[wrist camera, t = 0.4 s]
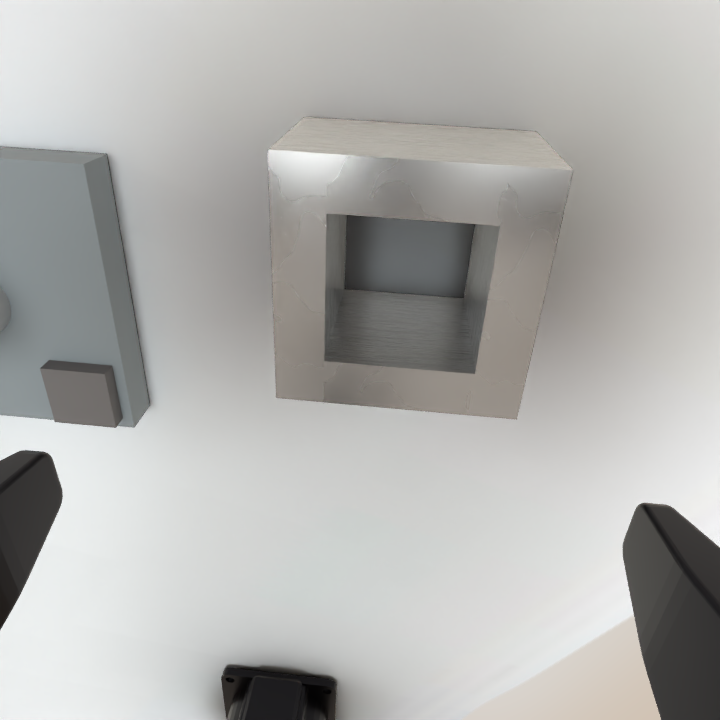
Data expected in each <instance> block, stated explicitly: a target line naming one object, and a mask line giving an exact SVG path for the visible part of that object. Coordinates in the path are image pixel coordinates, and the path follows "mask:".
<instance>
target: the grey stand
mask: <svg viewBox="0 0 720 720" xmlns="http://www.w3.org/2000/svg"><path fill="white" fill-rule="evenodd" d="M149 406H150V403H149V397H148V392H147V386H146V380H145V374H144V368H143V363H142V357H141V351H140V345H139V339H138V333H137V328H136V322H135V316H134V310H133V304H132V298H131V293H130V287H129V281H128V275H127V269H126V263H125V258H124V252H123V246H122V240H121V234H120V229H119V223H118V217H117V211H116V205H115V199H114V194H113V188H112V182H111V176H110V170H109V164H108V159H107V154H101V153H86V152H71V151H56V150H42V149H27V148H12V147H0V415H7V416H18V417H29V418H39V419H50V420H54V421H55V422H61V423H72V424H82V425H93V426H103V427H114V428H116V427H117V426H125V427H135V426H136V425H137V423H138V422H139V420H140V419H141V417H142V416H143V415H144V413H145V412H146V410H147V409H148V407H149Z"/></svg>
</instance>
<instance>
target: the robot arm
mask: <svg viewBox="0 0 720 720" xmlns="http://www.w3.org/2000/svg"><path fill="white" fill-rule="evenodd" d="M62 497H63V495H62V488H61V485H60V481H59V478H58V475H57V472H56V469H55V465H54V462H53V459H52V457H51V456H50V455H49V454H48V453H46V452H39V451H28V450H25V451H19V452H17V453H15V454H13V455H11V456H9V457H7V458H5V459H3V460H1V461H0V630H1V628H2V626H3V624H4V623H5V621H6V619H7V617H8V616H9V614H10V612H11V611H12V609H13V607H14V605H15V603H16V601H17V600H18V598H19V596H20V594H21V592H22V590H23V588H24V586H25V584H26V582H27V580H28V577H29V575H30V573H31V571H32V569H33V566H34V564H35V562H36V560H37V557H38V555H39V553H40V551H41V549H42V546H43V544H44V542H45V540H46V537H47V535H48V533H49V531H50V529H51V526H52V524H53V522H54V520H55V517H56V515H57V513H58V511H59V509H60V506H61V503H62ZM623 560H624V565H625V570H626V575H627V580H628V586H629V591H630V596H631V601H632V607H633V612H634V617H635V622H636V627H637V633H638V638H639V642H640V647H641V652H642V656H643V660H644V664H645V667H646V671H647V675H648V678H649V681H650V684H651V688H652V691H653V694H654V697H655V701H656V704H657V707H658V710H659V714H660V717H661V720H720V547H719V546H717V545H716V544H715V543H714V542H713V541H711V540H710V539H709V538H708V537H707V536H706V535H704V534H703V533H702V532H701V531H700V530H698V529H697V528H696V527H695V526H694V525H693V524H691V523H690V522H689V521H688V520H687V519H686V518H684V517H683V516H682V515H681V514H680V513H678V512H677V511H676V510H675V509H674V508H672V507H671V506H668V505H664V504H653V503H642V504H639V505H638V506H637V508H636V510H635V512H634V515H633V517H632V520H631V523H630V525H629V528H628V531H627V533H626V536H625V539H624V542H623ZM221 680H222V687H223V695H224V702H225V710H226V717H227V720H335V718H336V694H337V684H336V683H335V682H334V681H332V680H329V679H322V678H313V677H304V676H296V675H287V674H279V673H270V672H261V671H253V670H244V669H236V668H227V669H225V670H224V671H223V675H222V678H221Z"/></svg>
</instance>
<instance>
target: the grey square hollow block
mask: <svg viewBox="0 0 720 720" xmlns="http://www.w3.org/2000/svg"><path fill="white" fill-rule="evenodd" d="M572 174H573V169H572V168H571V167H570V166H569V165H568V164H567V163H566V162H565V161H564V160H563V159H562V158H561V157H560V156H559V154H558V153H557V152H556V151H555V150H554V149H553V148H552V147H551V146H550V145H549V144H548V143H547V142H546V141H545V140H544V139H543V138H542V137H541V136H540V135H539V134H538V133H537V132H536V131H522V130H506V129H490V128H474V127H458V126H442V125H426V124H411V123H395V122H379V121H363V120H347V119H331V118H315V117H304V118H303V119H302V120H300V121H299V122H298V123H297V124H296V125H295V126H294V127H293V128H291V129H290V130H289V131H288V132H287V133H286V134H285V135H284V136H282V137H281V138H280V139H279V140H278V141H277V142H276V143H275V144H273V145H272V146H271V147H270V148H269V149H268V177H269V206H270V234H271V262H272V291H273V319H274V348H275V376H276V398H283V399H295V400H306V401H317V402H328V403H339V404H350V405H361V406H373V407H384V408H395V409H406V410H417V411H428V412H439V413H451V414H462V415H473V416H484V417H495V418H506V419H517V416H518V412H519V407H520V403H521V399H522V394H523V390H524V385H525V381H526V377H527V372H528V368H529V363H530V359H531V355H532V350H533V346H534V341H535V337H536V333H537V328H538V324H539V319H540V315H541V311H542V306H543V302H544V297H545V293H546V288H547V284H548V280H549V275H550V271H551V266H552V262H553V258H554V253H555V249H556V244H557V240H558V236H559V231H560V227H561V222H562V218H563V214H564V209H565V205H566V200H567V196H568V192H569V187H570V183H571V178H572ZM347 215H355V216H369V217H383V218H397V219H410V220H424V221H438V222H452V223H466V224H475V227H474V233H473V240H472V247H471V254H470V260H469V267H468V274H467V280H466V287H465V294H464V298H453V297H441V296H428V295H415V294H403V293H390V292H377V291H365V290H352V289H344V287H345V257H346V228H347Z"/></svg>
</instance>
